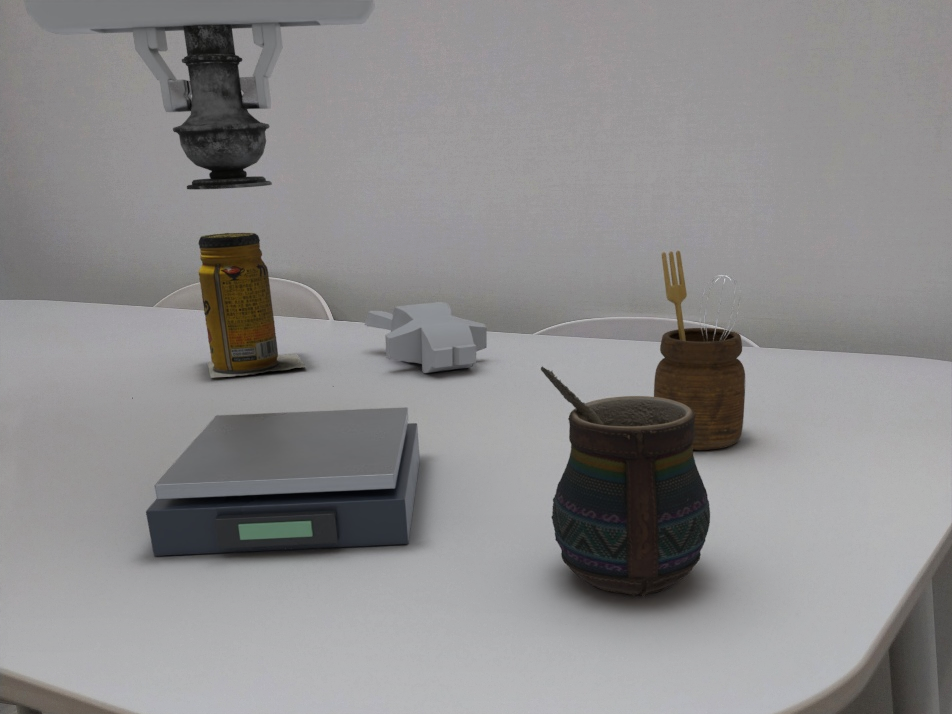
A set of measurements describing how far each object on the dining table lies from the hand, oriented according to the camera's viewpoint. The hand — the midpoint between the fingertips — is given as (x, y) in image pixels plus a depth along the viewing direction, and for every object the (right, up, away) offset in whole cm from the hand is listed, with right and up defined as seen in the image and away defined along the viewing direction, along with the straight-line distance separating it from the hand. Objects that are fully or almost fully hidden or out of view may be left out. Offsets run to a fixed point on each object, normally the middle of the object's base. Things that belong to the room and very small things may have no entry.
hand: (219, 110), depth 60 cm
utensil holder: (+31, -20, +5) cm, 37 cm away
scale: (+6, -24, -4) cm, 26 cm away
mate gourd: (+24, -28, -15) cm, 40 cm away
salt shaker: (0, -4, +2) cm, 5 cm away
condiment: (-6, -12, +30) cm, 33 cm away
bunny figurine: (+10, -11, +31) cm, 34 cm away
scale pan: (+6, -22, -5) cm, 23 cm away
